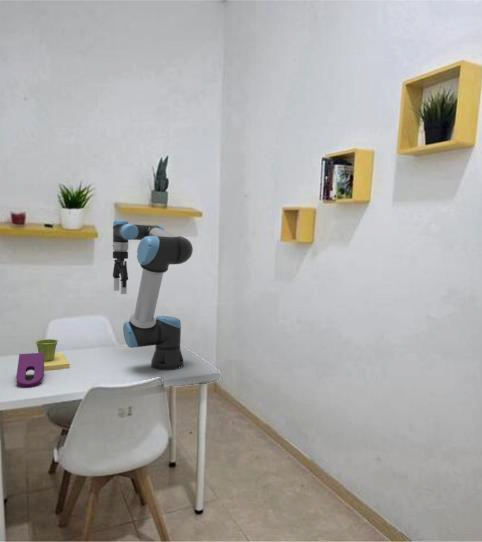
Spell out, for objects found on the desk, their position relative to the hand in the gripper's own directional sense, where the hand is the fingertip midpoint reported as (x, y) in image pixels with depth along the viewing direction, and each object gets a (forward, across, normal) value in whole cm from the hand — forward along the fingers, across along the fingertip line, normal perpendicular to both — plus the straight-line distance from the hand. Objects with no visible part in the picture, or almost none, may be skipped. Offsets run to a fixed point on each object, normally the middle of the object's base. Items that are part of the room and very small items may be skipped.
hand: (119, 292), depth 216 cm
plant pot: (+30, +6, -35) cm, 46 cm away
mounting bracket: (+32, +27, -43) cm, 60 cm away
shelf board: (+32, +6, -32) cm, 46 cm away
